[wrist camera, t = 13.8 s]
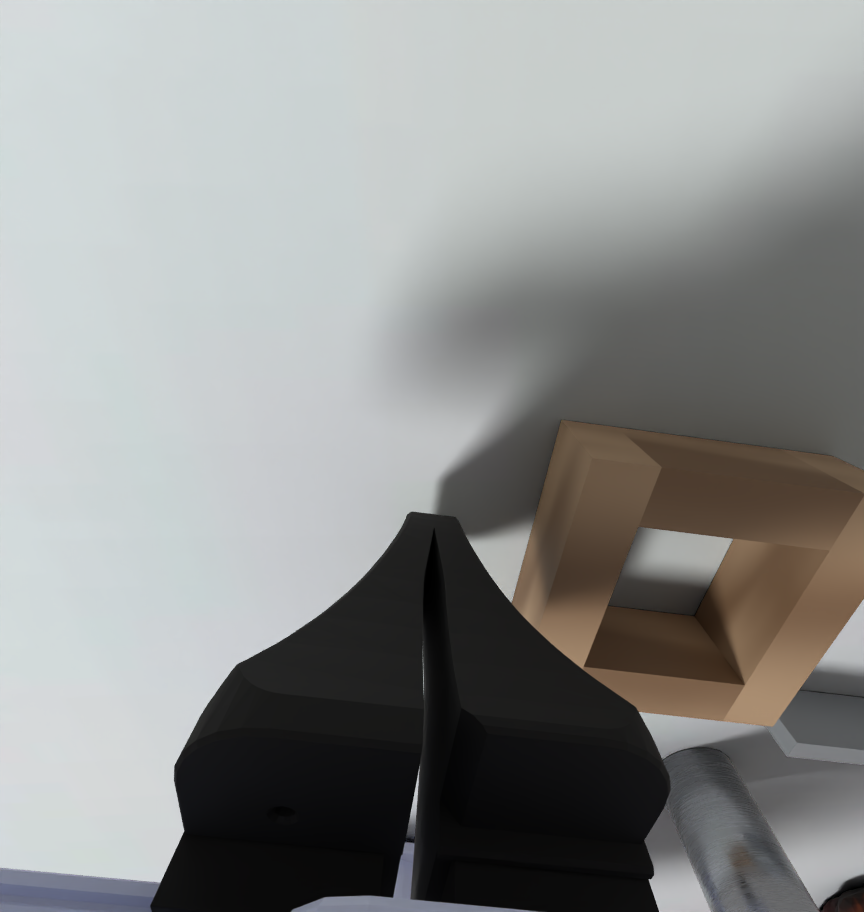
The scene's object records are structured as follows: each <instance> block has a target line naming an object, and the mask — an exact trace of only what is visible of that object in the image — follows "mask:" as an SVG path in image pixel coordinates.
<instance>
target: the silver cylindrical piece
mask: <svg viewBox="0 0 864 912" xmlns="http://www.w3.org/2000/svg"><path fill="white" fill-rule="evenodd" d="M663 762H664V765H665V767H666V769H667V771H668V773H669V776H670V786H671V791H670V794H669V796H668V799H667V802H666V805H667V808H668V810H669V813H670V815H671V817H672V820H673V822H674V824H675V827H676V829H677V832H678V834H679V836H680V839H681V841H682V843H683V846H684V848H685V851H686V853H687V855H688V858H689V860H690V863H691V865H692V867H693V870H694V872H695V874H696V877H697V879H698V882H699V884H700V886H701V889H702V891H703V894H704V896H705V898H706V901H707V903H708V905H709V908H710V910H711V912H820V911H819V909H818V908H817V906H816V904H815V903H814V901H813V899H812V898H811V896H810V894H809V893H808V891H807V889H806V887H805V886H804V884H803V882H802V881H801V879H800V877H799V876H798V874H797V872H796V870H795V869H794V867H793V865H792V864H791V862H790V860H789V859H788V857H787V855H786V854H785V852H784V850H783V848H782V847H781V845H780V843H779V842H778V840H777V838H776V837H775V835H774V833H773V831H772V830H771V828H770V826H769V825H768V823H767V821H766V820H765V818H764V816H763V814H762V813H761V811H760V809H759V808H758V806H757V804H756V803H755V801H754V799H753V798H752V796H751V794H750V792H749V791H748V789H747V787H746V786H745V784H744V782H743V781H742V779H741V777H740V775H739V774H738V772H737V770H736V769H735V767H734V765H733V764H732V762H731V760H730V759H729V757H728V756H727V755H725V754H724V753H722V752H720V751H718V750H714V749H709V748H693V749H687V750H683V751H680V752H677V753H674V754H672V755H670V756H669V757H667V758H665V759H664V760H663Z"/></svg>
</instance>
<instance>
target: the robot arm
mask: <svg viewBox="0 0 864 912" xmlns="http://www.w3.org/2000/svg"><path fill="white" fill-rule="evenodd" d="M423 668H424V694H423ZM419 766H420V771H419ZM418 771H419V786H418V801H417V815H416V829H415V843H411V842H405V839H406V834H407V829H408V823H409V818H410V813H411V808H412V802H413V797H414V792H415V787H416V781H417V776H418ZM174 782H175V787H176V792H177V797H178V802H179V807H180V812H181V817H182V822H183V827H184V833H183V835H182V838H181V840H180V842H179V844H178V846H177V848H176V851H175V853H174V855H173V857H172V859H171V861H170V864H169V866H168V868H167V870H166V872H165V874H164V877H163V879H162V881H161V883H157V882H147V881H136V880H125V879H115V878H104V877H93V876H83V875H72V874H61V873H50V872H40V871H29V870H18V869H8V868H0V912H659V910H658V907H657V904H656V901H655V898H654V895H653V892H652V889H651V886H650V883H649V880H648V879H652V877H653V876H654V868H653V864H652V861H651V859H650V856H649V853H648V850H647V847H646V844H645V842H644V839H645V838H646V836H647V835H648V833H649V831H650V830H651V828H652V826H653V825H654V823H655V822H656V820H657V818H658V817H659V815H660V814H661V812H662V810H663V809H664V806H665V804H666V802H667V799H668V796H669V794H670V791H671V786H670V776H669V773H668V771H667V769H666V767H665V765H664V762H663V760H662V758H661V756H660V753H659V751H658V749H657V747H656V744H655V742H654V740H653V738H652V736H651V734H650V732H649V730H648V728H647V727H646V725H645V723H644V721H643V719H642V718H641V716H640V714H639V712H638V710H637V708H636V707H635V706H634V705H632V704H631V703H629V702H628V701H627V700H625V699H624V698H622V697H621V696H619V695H618V694H617V693H615V692H614V691H612V690H611V689H609V688H608V687H606V686H605V685H604V684H602V683H601V682H599V681H598V680H596V679H595V678H593V677H592V676H591V675H589V674H588V673H587V672H585V671H584V670H583V669H582V668H580V667H579V666H578V665H577V664H575V663H574V662H573V661H572V660H570V659H569V658H568V657H567V656H565V655H564V654H563V653H562V652H561V651H559V650H558V649H557V648H556V647H555V646H554V645H553V644H551V643H550V642H549V641H548V640H547V639H546V638H545V637H544V636H543V635H542V634H541V633H540V632H539V631H537V630H536V629H535V628H534V627H533V626H532V625H531V624H530V623H529V622H528V621H527V620H526V619H525V618H524V617H523V616H522V615H521V614H520V612H519V611H518V610H517V609H516V608H515V607H514V606H513V605H512V603H511V602H510V601H509V600H508V599H507V598H506V596H505V595H504V594H503V593H502V591H501V590H500V589H499V587H498V586H497V585H496V583H495V582H494V580H493V579H492V578H491V576H490V575H489V573H488V572H487V570H486V569H485V568H484V566H483V564H482V563H481V561H480V560H479V558H478V556H477V555H476V553H475V552H474V550H473V548H472V546H471V545H470V543H469V541H468V539H467V537H466V535H465V533H464V531H463V529H462V527H461V525H460V523H459V521H458V520H457V518H456V517H451V516H443V515H435V514H427V513H419V512H410V513H409V514H407V516H406V519H405V521H404V524H403V526H402V527H401V529H400V531H399V532H398V534H397V536H396V537H395V539H394V540H393V541H392V543H391V544H390V546H389V547H388V548H387V550H386V551H385V552H384V554H383V555H382V556H381V557H380V558H379V560H378V561H377V562H376V563H375V564H374V566H373V567H372V568H371V569H370V570H369V571H368V572H367V573H366V575H365V576H364V577H363V578H362V579H361V580H360V581H359V582H358V583H357V584H356V585H355V586H354V587H352V588H351V589H350V590H349V591H348V592H347V593H346V594H345V595H344V596H342V597H341V598H340V599H339V600H338V601H337V602H335V603H334V604H333V605H332V606H331V607H329V608H328V609H327V610H326V611H324V612H323V613H322V614H320V615H319V616H318V617H316V618H315V619H313V620H312V621H310V622H309V623H307V624H306V625H304V626H303V627H302V628H300V629H299V630H297V631H296V632H294V633H293V634H291V635H290V636H288V637H287V638H285V639H283V640H282V641H280V642H278V643H277V644H275V645H273V646H271V647H269V648H267V649H266V650H264V651H262V652H260V653H258V654H256V655H254V656H253V657H251V658H249V659H247V660H245V661H243V662H241V663H239V664H237V665H236V666H235V668H234V669H233V670H232V671H231V673H230V674H229V675H228V677H227V678H226V679H225V681H224V682H223V683H222V685H221V686H220V688H219V689H218V691H217V692H216V694H215V695H214V696H213V698H212V699H211V700H210V702H209V703H208V705H207V706H206V708H205V710H204V711H203V713H202V714H201V716H200V718H199V720H198V722H197V724H196V726H195V728H194V730H193V731H192V733H191V735H190V737H189V739H188V741H187V743H186V745H185V747H184V749H183V751H182V752H181V754H180V756H179V758H178V760H177V762H176V764H175V767H174Z"/></svg>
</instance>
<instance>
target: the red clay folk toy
mask: <svg viewBox="0 0 864 912" xmlns="http://www.w3.org/2000/svg"><path fill="white" fill-rule="evenodd" d="M820 912H864V887H862V888H857V889H854V890H848V891H846V892H843V893H842V895H841V896H839V897H837V898H834V899H830V900H829V901H828V902H827V904H826V905H824V907H823V910H822V911H820Z"/></svg>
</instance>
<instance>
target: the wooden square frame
mask: <svg viewBox="0 0 864 912" xmlns="http://www.w3.org/2000/svg"><path fill="white" fill-rule="evenodd" d="M638 527H645V528H653V529H661V530H669V531H677V532H685V533H693V534H700V535H708V536H716V537H724V538H732V539H733V541H732V543H731V545H730V547H729V549H728V551H727V553H726V555H725V557H724V559H723V561H722V563H721V565H720V567H719V569H718V571H717V573H716V575H715V577H714V579H713V581H712V583H711V585H710V587H709V589H708V591H707V592H706V594H705V596H704V598H703V600H702V602H701V604H700V606H699V608H698V610H697V612H696V614H695V616H688V615H680V614H671V613H663V612H655V611H646V610H638V609H630V608H621V607H613V606H608V603H609V601H610V598H611V596H612V593H613V590H614V588H615V585H616V583H617V580H618V578H619V575H620V573H621V570H622V567H623V565H624V562H625V560H626V557H627V555H628V552H629V550H630V547H631V545H632V542H633V539H634V537H635V534H636V532H637V529H638ZM863 599H864V470H861V469H859V468H857V467H855V466H853V465H851V464H849V463H846V462H844V461H842V460H840V459H838V458H836V457H834V456H828V455H821V454H813V453H806V452H798V451H791V450H783V449H776V448H768V447H761V446H753V445H746V444H739V443H731V442H724V441H716V440H709V439H701V438H694V437H686V436H679V435H671V434H664V433H656V432H649V431H641V430H634V429H626V428H619V427H611V426H604V425H596V424H589V423H581V422H574V421H566V420H561V423H560V427H559V430H558V434H557V438H556V442H555V445H554V449H553V453H552V456H551V460H550V464H549V467H548V471H547V475H546V478H545V482H544V486H543V490H542V493H541V497H540V501H539V504H538V508H537V512H536V515H535V519H534V523H533V527H532V530H531V534H530V538H529V541H528V545H527V549H526V552H525V556H524V560H523V563H522V567H521V571H520V575H519V578H518V582H517V586H516V589H515V593H514V597H513V600H512V605H513V606H514V607H515V608H516V609H517V610H518V611H519V612H520V614H521V615H522V616H523V617H524V618H525V619H526V620H527V621H528V622H529V623H530V624H531V625H532V626H533V627H534V628H535V629H536V630H537V631H539V632H540V633H541V634H542V635H543V636H544V637H545V638H546V639H547V640H548V641H549V642H550V643H551V644H553V645H554V646H555V647H556V648H557V649H558V650H559V651H561V652H562V653H563V654H564V655H565V656H567V657H568V658H569V659H570V660H572V661H573V662H574V663H575V664H577V665H578V666H579V667H580V668H582V669H583V670H584V671H585V672H587V673H588V674H589V675H591V676H592V677H593V678H595V679H596V680H598V681H599V682H601V683H602V684H604V685H605V686H606V687H608V688H609V689H611V690H612V691H614V692H615V693H617V694H618V695H619V696H621V697H622V698H624V699H625V700H627V701H628V702H629V703H631V704H632V705H634V706H635V707H636V708H637V710H638V712H645V713H654V714H663V715H672V716H681V717H690V718H699V719H708V720H717V721H726V722H735V723H744V724H753V725H762V726H771V727H773V726H774V725H775V723H776V722H777V720H778V719H779V718H780V716H781V715H782V713H783V712H784V710H785V709H786V708H787V706H788V705H789V703H790V702H791V701H792V699H793V698H794V696H795V695H796V694H797V692H798V691H799V689H800V688H801V687H802V685H803V684H804V682H805V681H806V679H807V678H808V677H809V675H810V674H811V672H812V671H813V670H814V668H815V667H816V665H817V664H818V663H819V661H820V660H821V658H822V657H823V655H824V654H825V653H826V651H827V650H828V648H829V647H830V646H831V644H832V643H833V641H834V640H835V639H836V637H837V636H838V634H839V633H840V632H841V630H842V629H843V627H844V626H845V624H846V623H847V622H848V620H849V619H850V617H851V616H852V615H853V613H854V612H855V610H856V609H857V608H858V606H859V605H860V603H861V602H862V600H863Z"/></svg>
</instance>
